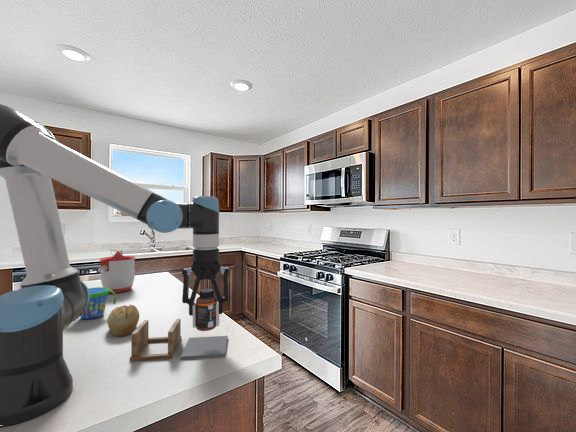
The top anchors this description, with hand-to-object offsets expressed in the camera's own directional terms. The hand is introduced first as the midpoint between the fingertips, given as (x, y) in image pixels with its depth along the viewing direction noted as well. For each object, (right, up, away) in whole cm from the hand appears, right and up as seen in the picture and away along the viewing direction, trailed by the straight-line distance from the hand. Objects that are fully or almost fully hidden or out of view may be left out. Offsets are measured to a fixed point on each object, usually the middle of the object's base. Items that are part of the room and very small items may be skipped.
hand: (206, 324), depth 86 cm
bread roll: (-32, -7, +13) cm, 36 cm away
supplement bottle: (0, -1, 0) cm, 1 cm away
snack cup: (-51, -6, +25) cm, 57 cm away
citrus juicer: (-63, -6, +61) cm, 88 cm away
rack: (-14, -7, -1) cm, 16 cm away
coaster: (0, -7, 0) cm, 7 cm away
